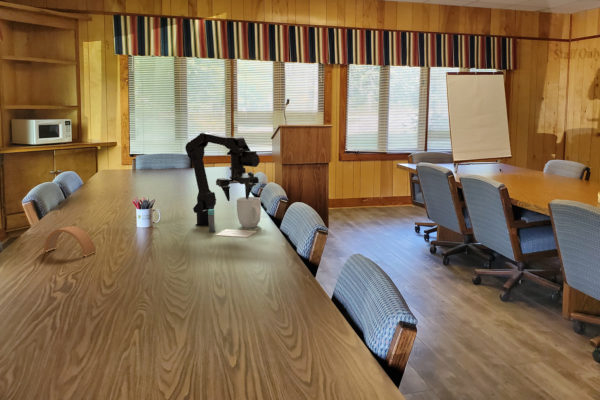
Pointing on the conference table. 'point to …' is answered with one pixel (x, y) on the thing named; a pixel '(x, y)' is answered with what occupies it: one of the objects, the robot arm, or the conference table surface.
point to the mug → (249, 211)
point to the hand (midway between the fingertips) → (237, 200)
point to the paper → (236, 233)
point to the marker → (211, 220)
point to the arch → (76, 233)
